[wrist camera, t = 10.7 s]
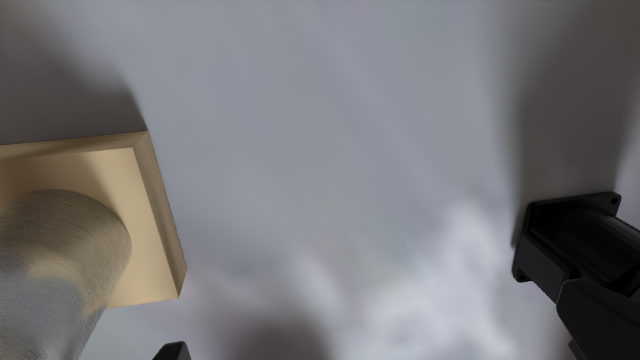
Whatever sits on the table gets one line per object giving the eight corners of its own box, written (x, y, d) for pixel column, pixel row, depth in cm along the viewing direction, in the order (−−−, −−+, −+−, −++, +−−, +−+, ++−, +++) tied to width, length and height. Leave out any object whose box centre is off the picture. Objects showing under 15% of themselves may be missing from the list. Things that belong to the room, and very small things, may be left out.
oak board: (148, 130, 19) (132, 147, 16) (187, 269, 23) (178, 298, 20) (-43, 149, 18) (-87, 169, 15) (32, 290, 22) (5, 323, 19)
